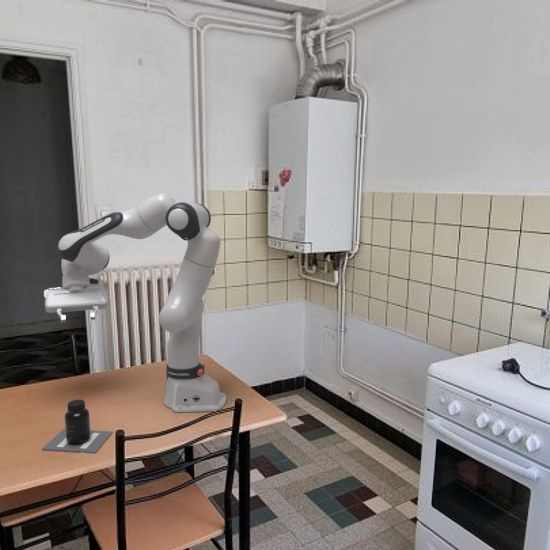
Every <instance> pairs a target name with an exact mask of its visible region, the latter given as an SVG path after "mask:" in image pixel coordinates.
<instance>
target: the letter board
mask: <svg viewBox="0 0 550 550" xmlns="http://www.w3.org/2000/svg"><path fill="white" fill-rule="evenodd" d="M90 433H91V437H90V439H89V440H88V441H87V442H85V443H83V444H79V445H71V444H69V443H67V440H66V428H63V429H61V431H59V432H58V433H57V434H56V435H55V436H54V437H53V438H52V439H51V440H50V441H49V442H48V443H47V444H45V445H44V446H43V447H42V448H41V450H42V451H48V452H51V451H53V452H67V453H81V452H84V453H85V454H97V452H98V451H99V450H100V449H101V448H102V446H103V445H104V444H105V443H106V442H107V440H108V439H109V438H110V437H111V435H112V434H113V433H114V432H113V431H111V430H110V431H107V430H93V429H92V430H91V429H90ZM109 436H110V437H109ZM104 442H105V443H104ZM99 448H100V449H99ZM98 449H99V450H98ZM97 450H98V451H97Z"/></svg>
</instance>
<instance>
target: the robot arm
mask: <svg viewBox="0 0 550 550" xmlns="http://www.w3.org/2000/svg"><path fill="white" fill-rule="evenodd" d="M211 221H212V216H211V211H210V210H209V209H208V207H206V206H205V205H204V204H201V203H197V202H192V201H184V202H183V201H181V202H176V201H175V198H174V197H172V196H171V195H169V194H168V193H167V192H160V193H157V194H155V195H153V196H150V197H148V198H146V199H145V200H144V201H142V202H140V203H139V204H137V205H136V206H134V207H132V208H130V209H126V210H124V211H116V212H115V211H114V212H111V213H109V214H107V215H104V216H102V217H100V218H98V219H97V220H95V221H93V222H91V223H89V224H87V225H85V226H83V227H81V228H80V229H77V230H74V231H71V232H68V233H65V234H64V235H63V236H62V237H60V239H59V240H58V243H57V251H58V254H59V257H60V258H61V263H60V264H61V273H62V280H61V282H62V284H61V285H62V286H58V287H48V288H47V289H45V290H44V291H43V298H44V299H45V301H44V310H45V312H47V314H50V313H51V314H52V313H56V314H57V316H58V317H59V318H60V323H66V322H67V321H66V320H67V319H66V315H65V314H64V315H63V314H62V313H65V312H77V311H78V312H79V311H91V310H93V312H90V320H91V321H96V317H97V316H96V315H97V314H98V312H99V310H104V309H107V308H108V307H109V297H108V293H107V290H106V288H105V287H104V285H103V280H102V279H98V278H94V277H90V276H93V275H95V274H98V273H101V271H104V270H105V269H106V268H107V267H108V265H109V263H110V252H109V250H108V249H106V248H105V247H103V246H101V244H98V243H96V242H95V241H98V240H100V239H101V238H103V237H105V236H108V235H115V236H116V235H117V236H124V237H126V238H131V239H135V240H145V239H147V238H149V237H152V236H153V235H154V234H156V233H157V232H159V231H161V230H162V229H163V228H164V227H166V226H167V227H168V229H169V230H170V231H172V233H174V234H175V235H176V236H178V237H180V238H181V239H182V240H183V241H187V246H186V250H185V253H184V255H183V259H182V262H181V265H180V268H179V271H178V273H177V277H176V278H175V280H174V283H173V284H172V286H171V289H170V292H169V294H168V295H167V296H166V299H165V302H164V305H163V306H162V308H161V310H160V312H159V315H158V322H159V324H160V327H161V328H162V329H163V330H164V331H166V332H168V333H170V334H169V337H168V340H167V344H166V345H167V346H166V347H167V348H166V349H167V351H166V353H167V364H166V368H165V375H166V380H167V383H166V391H165V395H164V399H163V405H164V406H166V407H167V408H169V409H171V410H172V411H173V412H174V413H195V412H196V413H199V412H218V411H219V410H222V409H223V407H225V405H226V404H227V394H225V392H221V387H220V384H219V382H218V381H217V380H215V379H214V378H212V377H211V376H209V374H207V373H206V372H205V367H206V366H205V363H203V364H202V363H201V362H200V350H199V349H200V336H201V330H202V321H203V312H204V309H205V308H204V307H205V303H204V300H203V297H204V295H205V293H206V291H207V289H208V288H209V285H210V281H211V280H212V276H213V273H214V270H215V267H216V264H217V262H218V258H219V253H220V249H221V238H220V236H219V235H218V234H217V233H216V232H214V231H213V230H210V229H209V226H210V224H211ZM217 410H218V411H217Z"/></svg>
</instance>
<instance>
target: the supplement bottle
mask: <svg viewBox="0 0 550 550" xmlns="http://www.w3.org/2000/svg"><path fill="white" fill-rule="evenodd" d="M66 407H67V408H66V409H67V411H66V412H65V414H64V426H65V428H64V429H66V440H67V443H69V444H71V445H79V444H83V443H85V442H87V441H88V440H89V439H90V437H91V433H90V430H91V423H90V422H91V421H90V419H91V418H90V411H89V409H87V408H86V401H85V400H83V399H74V400H73V399H72V400H70V401H69V402H68V403H67V406H66Z"/></svg>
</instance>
